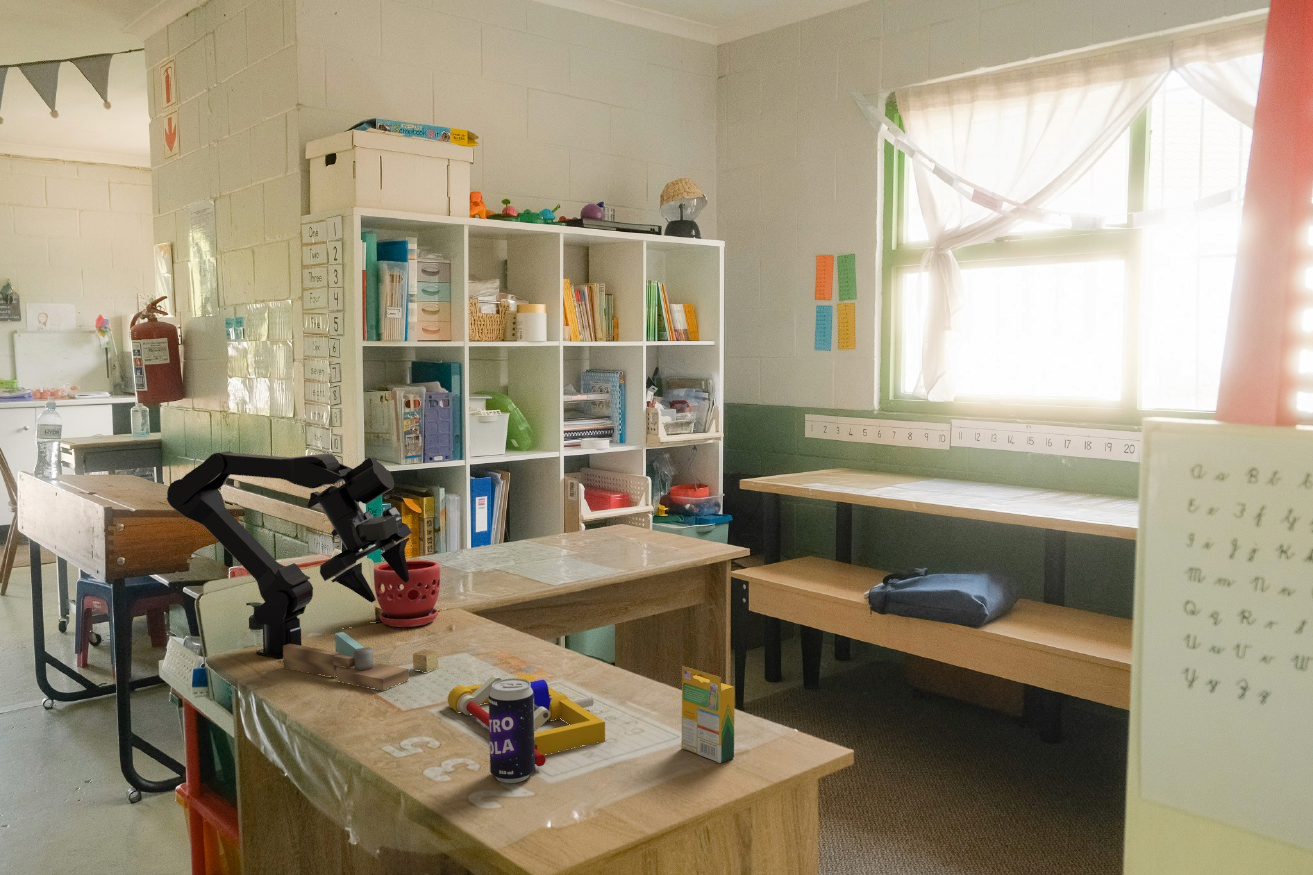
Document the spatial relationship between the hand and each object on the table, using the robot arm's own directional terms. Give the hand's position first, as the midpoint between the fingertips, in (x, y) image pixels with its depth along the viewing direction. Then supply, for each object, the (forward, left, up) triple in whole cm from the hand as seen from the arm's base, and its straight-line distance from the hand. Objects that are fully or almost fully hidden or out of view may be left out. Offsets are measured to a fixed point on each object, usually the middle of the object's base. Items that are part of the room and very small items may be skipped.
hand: (391, 591), depth 176 cm
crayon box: (+69, -14, -12) cm, 72 cm away
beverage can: (+50, -33, -12) cm, 61 cm away
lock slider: (+11, -3, -12) cm, 16 cm away
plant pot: (-14, +20, -12) cm, 27 cm away
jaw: (-3, -7, -12) cm, 14 cm away
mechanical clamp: (+43, -16, -13) cm, 47 cm away
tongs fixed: (0, -12, -12) cm, 17 cm away
